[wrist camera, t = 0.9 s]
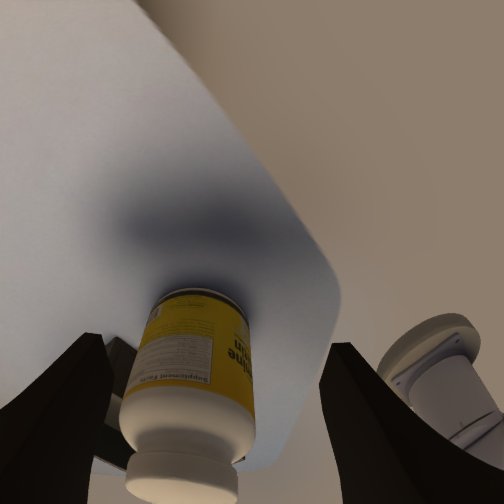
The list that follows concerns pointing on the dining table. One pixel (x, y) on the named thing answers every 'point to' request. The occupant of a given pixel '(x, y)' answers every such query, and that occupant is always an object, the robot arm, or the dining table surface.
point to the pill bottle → (190, 401)
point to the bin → (118, 409)
